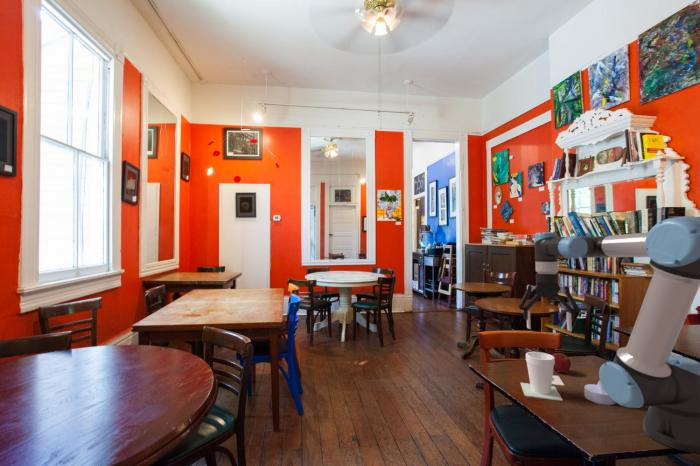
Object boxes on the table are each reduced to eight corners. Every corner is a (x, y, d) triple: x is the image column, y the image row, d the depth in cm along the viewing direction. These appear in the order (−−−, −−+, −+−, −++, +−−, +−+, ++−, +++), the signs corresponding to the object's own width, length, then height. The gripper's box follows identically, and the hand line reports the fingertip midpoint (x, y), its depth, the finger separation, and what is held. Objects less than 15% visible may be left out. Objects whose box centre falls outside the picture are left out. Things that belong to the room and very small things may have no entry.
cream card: (564, 385, 133) (564, 385, 133) (535, 382, 136) (535, 381, 136) (558, 376, 142) (558, 375, 142) (531, 373, 146) (531, 372, 146)
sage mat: (562, 401, 120) (562, 399, 120) (524, 396, 124) (524, 395, 124) (554, 387, 131) (554, 386, 131) (520, 383, 135) (520, 382, 135)
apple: (553, 374, 144) (552, 355, 145) (548, 367, 152) (547, 349, 152) (573, 376, 142) (573, 357, 142) (567, 369, 150) (566, 351, 150)
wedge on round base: (626, 398, 122) (582, 391, 128) (625, 379, 122) (582, 373, 128) (633, 409, 114) (587, 401, 120) (633, 389, 114) (586, 382, 120)
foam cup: (559, 397, 122) (558, 360, 122) (531, 395, 124) (530, 359, 124) (549, 386, 131) (548, 352, 132) (523, 384, 133) (522, 351, 134)
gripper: (581, 272, 129) (583, 329, 128) (509, 271, 137) (511, 325, 136) (588, 274, 122) (591, 333, 121) (512, 273, 130) (514, 329, 129)
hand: (548, 329), depth 128 cm, fingers open, 13 cm apart
